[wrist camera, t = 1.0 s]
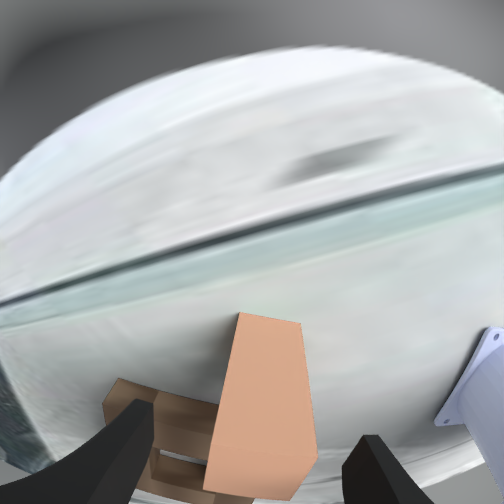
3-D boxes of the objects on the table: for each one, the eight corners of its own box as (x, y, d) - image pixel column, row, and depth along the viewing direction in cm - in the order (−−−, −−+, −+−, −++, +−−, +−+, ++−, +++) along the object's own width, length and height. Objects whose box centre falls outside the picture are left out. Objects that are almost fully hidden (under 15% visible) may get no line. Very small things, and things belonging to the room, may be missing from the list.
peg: (300, 323, 15) (317, 457, 7) (286, 370, 16) (289, 500, 8) (239, 312, 15) (211, 443, 7) (230, 360, 16) (202, 489, 8)
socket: (279, 415, 17) (279, 446, 14) (249, 489, 20) (247, 513, 17) (118, 378, 17) (102, 403, 14) (129, 461, 20) (119, 482, 17)
